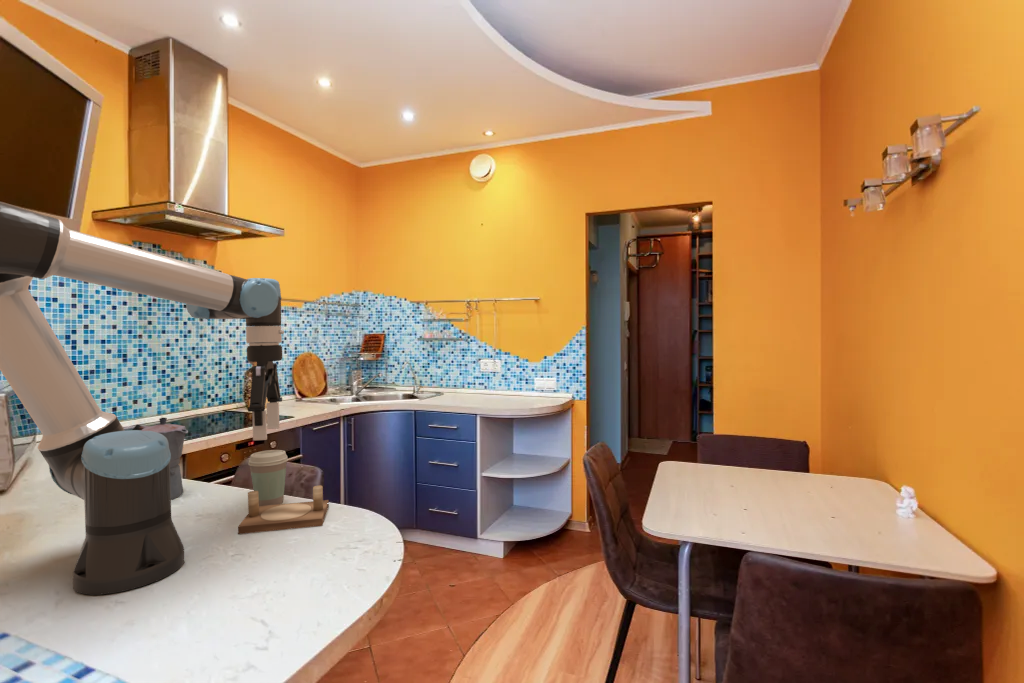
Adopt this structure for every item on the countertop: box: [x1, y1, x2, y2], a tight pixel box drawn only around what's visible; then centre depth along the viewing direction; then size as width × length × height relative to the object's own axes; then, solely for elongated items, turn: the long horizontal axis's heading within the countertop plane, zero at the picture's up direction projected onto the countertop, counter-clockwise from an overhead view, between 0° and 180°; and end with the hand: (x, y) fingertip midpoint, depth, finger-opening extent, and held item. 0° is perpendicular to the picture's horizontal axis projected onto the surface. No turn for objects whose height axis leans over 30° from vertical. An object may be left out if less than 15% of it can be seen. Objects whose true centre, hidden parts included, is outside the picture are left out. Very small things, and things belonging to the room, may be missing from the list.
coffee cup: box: [247, 449, 289, 506], centre depth 119 cm, size 9×8×12 cm
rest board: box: [237, 485, 330, 535], centre depth 109 cm, size 12×16×6 cm
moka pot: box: [131, 417, 189, 500], centre depth 125 cm, size 10×15×20 cm, turn 89°
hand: (267, 434), depth 119 cm, fingers open, 13 cm apart
